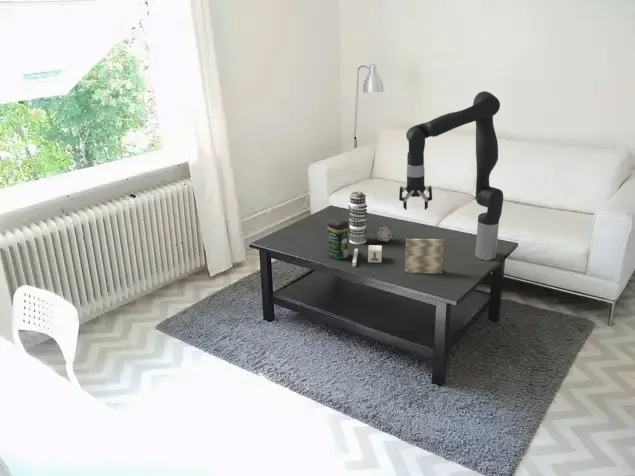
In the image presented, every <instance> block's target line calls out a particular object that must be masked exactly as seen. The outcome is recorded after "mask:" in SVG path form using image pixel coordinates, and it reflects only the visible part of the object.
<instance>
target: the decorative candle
mask: <svg viewBox="0 0 635 476" xmlns="http://www.w3.org/2000/svg"><path fill="white" fill-rule="evenodd" d="M348 197H349V204H348V219H349V221H350V222H349V227H348V232H349V234H348V236H349V237H348V239H349V241H348V242H349V243H350V244H354V245H362V244H365V243H366V242H367V224H366V220H367V218H368V216H366V215H367V214H368V213H367V212H368V210H367V208H368V205H367V201H366V197H367V195H366V194H365V193H364V192H362V191H354V192H352V193H351V194H350V195H349V196H348Z"/></svg>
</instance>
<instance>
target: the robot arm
mask: <svg viewBox="0 0 635 476" xmlns="http://www.w3.org/2000/svg"><path fill="white" fill-rule="evenodd" d="M472 104H473V105H471V106H469V107H468V108H465V109H462V110H461V109H460V110H458V111H453V112H448V113H446V114H443V115H440V116H438V117H436V118H433V119H432V120H429V121H427V122H422V123H419V124H415V125H413V126H412V127H409V128H408V130H407V131H406V135H405V136H406V139H407V141H408V152H407V154H406V156H407V157H406V159H407V161H406V162H407V165H406V186H402V185H400V186H399V197H398V198H399V201H401V202H403V204H402V205H403V209H404V210H405V211H407V208H408V206H407V203H408V200H409V199H410V198H415V197H416V198H419V197H421V198H422V199H423V200H424V210H425V211H426V210H427V209H428V208H429V202H430V201H432V200H433V192H432V191H433V190H432V185H429V186H425V171H426V170H425V145H426V139H427V138H429V137H432V138H435V137H438V136H441V135H443V134H445V133H448V132H449V131H452V130H454V129H456V128H459V127H461V126H464V125H468V124H471V123H473V122H475V158H476V181H475V182H476V183H475V184H476V185H475V201H476V203H477V204H478V205H479V206H482V207H484V208H487V209H486V212H481V213H479V215H478V216H477V227H476V228H477V229H476V241H475V242H476V243H475V253H474V254H475V255H474V256H476V257H477V258H476V257H475V258H476V259H478V258H479V259H478V260H481V259H483V260H482V261H492V260H491V259H493V260H495V259H496V258H497V250H498V247H497V246H498V239H499V238H498V235H499V226H500V219H501V217H502V212H503V205H504V193H503V190H501V189H500V188H496V187H493V186H491V185H490V175H491V173H492V171H493V170H494V168H495V166H496V165H497V162H498V160H499V144H498V138H497V134H496V131H495V125H494V116H495V115H496V114H498V112H499V110H500V108H501V102H500V100H499V99H498V98H497V97H496V96H495V95H494V94H493V93H491V92H489V91H486V90H485V91H483V90H482V91H480V92H478V93H477V94H476V95H475V97H474V99H473V103H472ZM405 191H406V192H407V193H406V194H405V196H404V197H403V193H404V192H405ZM425 191H426V192H427V193H428V197H427V195H426V194H425V193H424V192H425ZM494 258H495V259H494Z"/></svg>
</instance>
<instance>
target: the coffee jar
mask: <svg viewBox="0 0 635 476" xmlns="http://www.w3.org/2000/svg"><path fill="white" fill-rule="evenodd" d="M327 232H328V242H327V243H328V244H327V245H328V246H327V256H328V257H330V258H332V259H336V260H345V259H347V258H348V257H349V253H350V252H349V241H348V239H349V238H348V232H349V222H348V221H347V220H344V219H342V218H338V217H335V216H334V217H332V218H329V219H328V220H327Z"/></svg>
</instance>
